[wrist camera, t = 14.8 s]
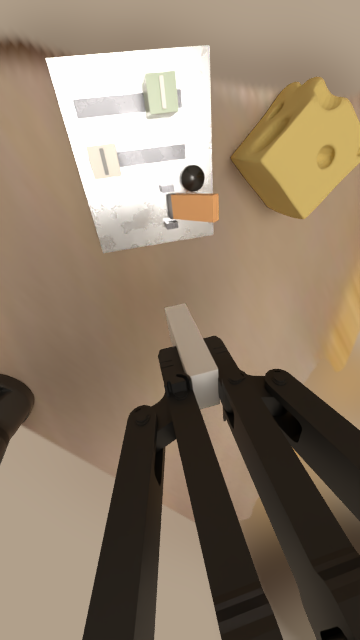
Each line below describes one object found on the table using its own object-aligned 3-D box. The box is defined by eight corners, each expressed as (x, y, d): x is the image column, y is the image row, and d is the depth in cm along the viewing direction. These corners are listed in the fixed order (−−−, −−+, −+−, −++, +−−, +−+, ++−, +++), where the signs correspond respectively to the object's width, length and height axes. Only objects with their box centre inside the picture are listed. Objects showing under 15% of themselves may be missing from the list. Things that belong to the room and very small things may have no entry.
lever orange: (167, 218, 34) (212, 222, 30) (164, 195, 32) (212, 195, 28) (173, 216, 35) (219, 219, 30) (171, 193, 33) (218, 193, 29)
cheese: (282, 85, 30) (341, 59, 22) (319, 154, 36) (377, 153, 28) (224, 159, 34) (257, 160, 26) (266, 212, 39) (304, 226, 31)
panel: (104, 249, 37) (102, 257, 34) (50, 64, 25) (40, 51, 22) (209, 231, 39) (217, 237, 36) (204, 51, 27) (214, 38, 24)
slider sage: (146, 119, 28) (150, 113, 24) (141, 83, 26) (145, 72, 23) (172, 116, 28) (179, 110, 25) (168, 81, 26) (175, 69, 23)
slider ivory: (97, 177, 30) (94, 179, 26) (89, 147, 28) (85, 146, 25) (121, 174, 30) (121, 176, 27) (115, 144, 29) (114, 143, 25)
